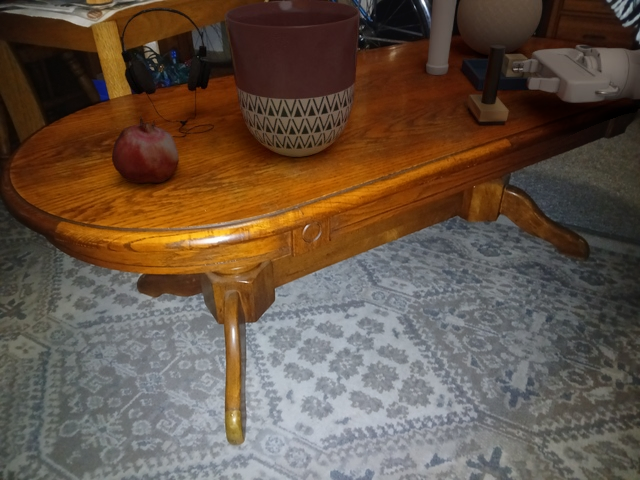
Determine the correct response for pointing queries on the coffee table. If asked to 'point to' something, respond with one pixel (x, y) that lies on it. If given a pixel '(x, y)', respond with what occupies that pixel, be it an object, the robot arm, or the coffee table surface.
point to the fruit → (145, 154)
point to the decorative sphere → (498, 23)
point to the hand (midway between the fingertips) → (519, 75)
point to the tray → (477, 72)
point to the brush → (490, 92)
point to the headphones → (143, 80)
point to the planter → (294, 71)
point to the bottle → (440, 36)
